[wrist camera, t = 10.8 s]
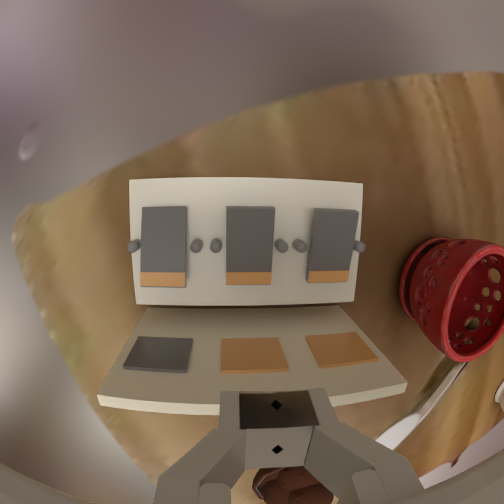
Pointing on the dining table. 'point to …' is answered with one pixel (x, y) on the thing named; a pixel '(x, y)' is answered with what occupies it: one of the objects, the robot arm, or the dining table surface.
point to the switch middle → (249, 244)
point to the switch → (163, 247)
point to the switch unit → (244, 319)
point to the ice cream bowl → (290, 486)
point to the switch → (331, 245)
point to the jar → (500, 395)
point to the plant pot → (454, 294)
